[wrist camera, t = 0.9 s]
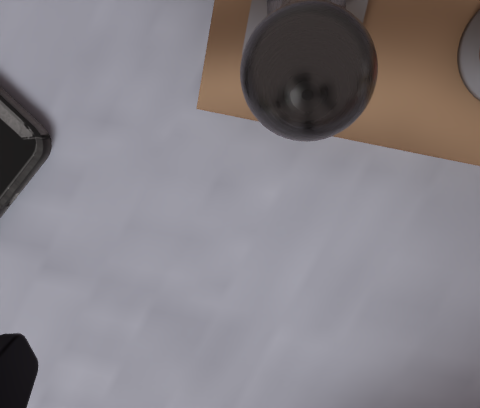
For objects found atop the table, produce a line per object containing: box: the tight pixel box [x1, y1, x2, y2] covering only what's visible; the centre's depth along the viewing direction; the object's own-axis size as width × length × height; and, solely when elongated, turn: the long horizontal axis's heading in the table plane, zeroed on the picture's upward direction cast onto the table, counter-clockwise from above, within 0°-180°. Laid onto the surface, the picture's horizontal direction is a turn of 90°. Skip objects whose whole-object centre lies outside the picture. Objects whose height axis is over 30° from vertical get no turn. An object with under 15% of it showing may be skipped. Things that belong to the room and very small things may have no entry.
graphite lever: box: [240, 0, 378, 141], centre depth 13 cm, size 3×3×11 cm
